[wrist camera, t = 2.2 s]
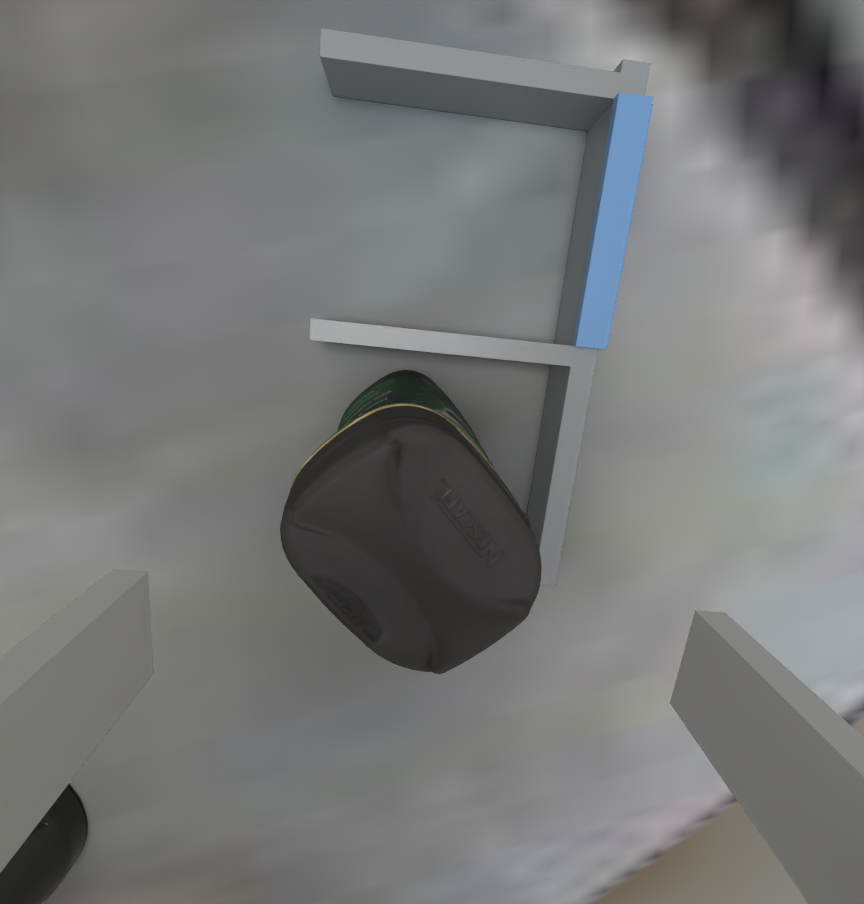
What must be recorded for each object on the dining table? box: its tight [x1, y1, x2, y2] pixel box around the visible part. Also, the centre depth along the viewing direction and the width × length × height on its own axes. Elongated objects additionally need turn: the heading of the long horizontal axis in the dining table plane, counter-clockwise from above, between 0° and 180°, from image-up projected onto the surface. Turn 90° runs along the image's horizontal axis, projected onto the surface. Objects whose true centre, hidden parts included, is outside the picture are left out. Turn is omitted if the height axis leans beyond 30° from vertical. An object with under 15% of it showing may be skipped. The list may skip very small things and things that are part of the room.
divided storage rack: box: [310, 28, 653, 586], centre depth 29 cm, size 18×30×5 cm, turn 174°
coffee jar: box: [280, 370, 542, 674], centre depth 24 cm, size 10×8×19 cm
